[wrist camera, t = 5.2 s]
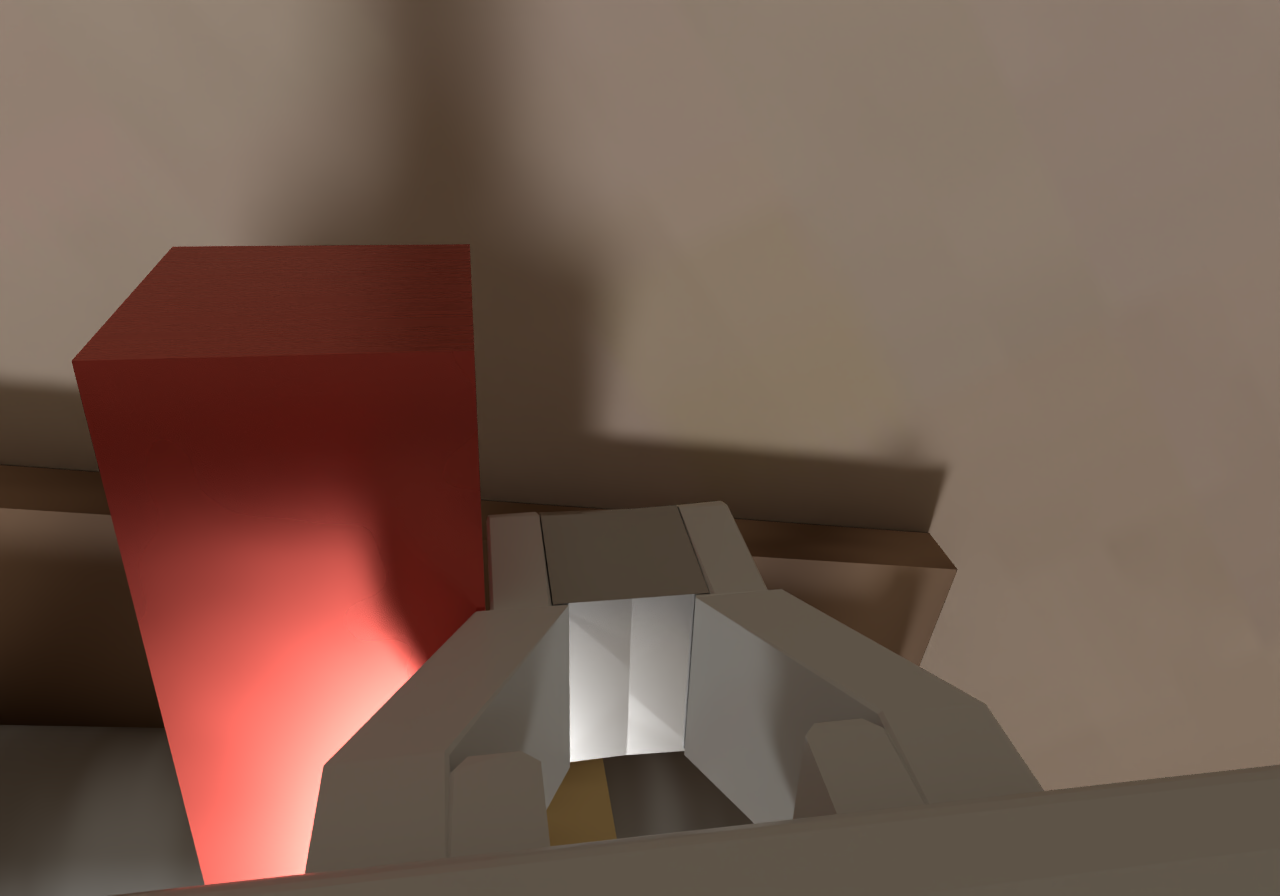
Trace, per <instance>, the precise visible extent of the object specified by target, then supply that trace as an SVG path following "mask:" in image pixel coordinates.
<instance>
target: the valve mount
mask: <svg viewBox="0 0 1280 896" xmlns="http://www.w3.org/2000/svg"><path fill="white" fill-rule="evenodd" d="M586 510H607V509H593V508H580V507H566V506H553V505H539V504H525V503H512V502H498V501H485V500H481V517H482V540H483V563H484V586H485V609H486V611H488V610H490V596H489V572H488V548H487V524H486V521H487V517H488V515H499V514H512V513H526V512H536V513H537V514H538V515H539V512H561V511H586ZM734 520H735V522H736V524H737V526H738V528H739V531H740V533H741V535H742V537H743V539H744V541H745V543H746V545H747V547H748V549H749V552H750V554H751V556H752V558H753V560H754V562H755V564H756V566H757V568H758V570H759V573H760V575H761V577H762V579H763V581H764V583H765V585H766V587H767V589H768V590H776V589H782V590H784V591H786V592H788V593H789V594H791V595H793V596H795V597H796V598H798V599H800V600H802V601H804V602H805V603H807V604H809V605H811V606H812V607H814V608H816V609H818V610H820V611H821V612H823V613H825V614H827V615H828V616H830V617H832V618H834V619H836V620H837V621H839V622H841V623H843V624H844V625H846V626H848V627H850V628H851V629H853V630H855V631H857V632H859V633H860V634H862V635H864V636H866V637H867V638H869V639H871V640H873V641H875V642H876V643H878V644H880V645H882V646H883V647H885V648H887V649H889V650H891V651H892V652H894V653H896V654H898V655H899V656H901V657H903V658H905V659H907V660H908V661H910V662H912V663H914V664H915V665H917V666H920V663H921V660H922V658H923V655H924V653H925V650H926V648H927V645H928V643H929V640H930V638H931V635H932V633H933V630H934V628H935V625H936V623H937V620H938V618H939V615H940V613H941V610H942V608H943V605H944V603H945V600H946V597H947V595H948V592H949V590H950V587H951V585H952V582H953V580H954V577H955V575H956V572H957V568H956V567H955V566H954V564H953V563H952V562H951V561H950V559H949V558H948V557H947V555H946V554H945V553H944V552H943V550H942V549H941V548H940V546H939V545H938V544H937V543H936V541H935V540H934V539H933V537H932V536H931V535H930V534H929V533H920V532H907V531H893V530H879V529H866V528H852V527H839V526H825V525H811V524H798V523H784V522H770V521H757V520H743V519H734ZM546 812H547V821H548V830H549V839H550V846H558V845H567V844H576V843H585V842H594V841H603V840H612V839H621V838H629V837H638V836H647V835H656V834H665V833H674V832H683V831H692V830H701V829H710V828H719V827H728V826H737V825H746V824H754V823H753V822H752V821H751V820H750V819H749V818H748V817H747V816H746V815H745V814H744V813H743V812H742V811H741V810H740V809H739V808H738V807H737V806H736V805H735V804H734V803H733V802H732V801H731V800H730V799H729V798H728V797H727V796H726V795H725V794H724V793H723V792H722V791H721V790H720V789H719V788H718V787H716V786H715V785H714V784H713V783H712V782H711V781H710V780H709V779H708V778H707V777H706V776H705V775H704V774H703V773H702V772H701V771H700V770H699V769H698V768H697V767H696V766H695V765H694V764H693V763H692V762H691V761H690V760H689V759H688V758H687V757H686V756H685V755H684V751H676V752H662V753H648V754H634V755H622V756H614V757H606V758H598V759H591V760H583V761H575V762H570V768H569V770H568V772H567V773H566V775H565V777H564V779H563V781H562V783H561V784H560V786H559V788H558V790H557V792H556V793H555V795H554V797H553V799H552V801H551V803H550V804H549V806H548V808H547V810H546ZM199 885H205V883H204V880H203V876H202V872H201V868H200V864H199V860H198V856H197V852H196V848H195V844H194V840H193V836H192V832H191V828H190V824H189V821H188V817H187V813H186V809H185V805H184V801H183V797H182V793H181V789H180V785H179V781H178V777H177V773H176V769H175V766H174V762H173V758H172V754H171V750H170V746H169V742H168V738H167V734H166V730H165V726H164V722H163V718H162V714H161V710H160V707H159V703H158V699H157V695H156V691H155V687H154V683H153V679H152V675H151V671H150V667H149V663H148V659H147V655H146V651H145V648H144V644H143V640H142V636H141V632H140V628H139V624H138V620H137V616H136V612H135V608H134V604H133V600H132V596H131V593H130V589H129V585H128V581H127V577H126V573H125V569H124V565H123V561H122V557H121V553H120V549H119V545H118V541H117V537H116V534H115V530H114V526H113V522H112V518H111V514H110V510H109V506H108V502H107V498H106V494H105V490H104V486H103V482H102V478H101V475H100V472H90V471H76V470H62V469H49V468H35V467H22V466H8V465H0V896H110V895H119V894H128V893H137V892H146V891H154V890H163V889H172V888H181V887H190V886H199Z"/></svg>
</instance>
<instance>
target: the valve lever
mask: <svg viewBox="0 0 1280 896" xmlns="http://www.w3.org/2000/svg"><path fill="white" fill-rule="evenodd" d="M72 364H73V368H74V372H75V376H76V380H77V384H78V388H79V392H80V396H81V400H82V404H83V408H84V412H85V416H86V420H87V423H88V427H89V431H90V435H91V439H92V443H93V447H94V451H95V455H96V459H97V463H98V467H99V471H100V475H101V478H102V482H103V486H104V490H105V494H106V498H107V502H108V506H109V510H110V514H111V518H112V522H113V526H114V530H115V534H116V537H117V541H118V545H119V549H120V553H121V557H122V561H123V565H124V569H125V573H126V577H127V581H128V585H129V589H130V593H131V596H132V600H133V604H134V608H135V612H136V616H137V620H138V624H139V628H140V632H141V636H142V640H143V644H144V648H145V651H146V655H147V659H148V663H149V667H150V671H151V675H152V679H153V683H154V687H155V691H156V695H157V699H158V703H159V707H160V710H161V714H162V718H163V722H164V726H165V730H166V734H167V738H168V742H169V746H170V750H171V754H172V758H173V762H174V766H175V769H176V773H177V777H178V781H179V785H180V789H181V793H182V797H183V801H184V805H185V809H186V813H187V817H188V821H189V824H190V828H191V832H192V836H193V840H194V844H195V848H196V852H197V856H198V860H199V864H200V868H201V872H202V876H203V880H204V883H205V885H208V884H217V883H226V882H235V881H244V880H253V879H262V878H271V877H280V876H289V875H298V874H305V868H306V862H307V857H308V851H309V845H310V839H311V834H312V828H313V822H314V816H315V811H316V805H317V799H318V793H319V788H320V782H321V776H322V770H323V766H324V764H325V763H326V762H327V761H328V760H329V759H330V758H331V757H332V756H333V755H334V754H335V753H336V752H337V751H338V750H339V749H340V748H341V747H342V746H343V745H344V744H345V743H346V742H347V741H348V740H349V739H350V738H351V737H352V736H353V735H354V734H355V733H356V732H357V731H358V730H359V729H360V728H361V727H362V726H363V725H364V724H365V723H366V722H367V721H368V720H369V719H370V718H371V717H372V716H373V715H374V714H375V713H376V712H377V711H378V710H379V709H380V708H381V707H382V706H383V705H384V704H385V703H386V702H387V701H388V700H389V699H390V698H391V697H392V696H393V695H394V694H395V693H396V692H397V691H398V690H399V689H400V688H401V687H402V685H403V684H404V683H405V682H406V681H407V680H408V679H409V678H410V677H411V676H412V675H413V674H414V673H415V672H416V671H417V670H418V669H419V668H420V667H421V666H422V665H423V664H424V663H425V662H426V661H427V660H428V659H429V658H430V657H431V656H432V655H433V654H434V653H435V652H436V651H437V650H438V649H439V648H440V647H441V646H442V645H443V644H444V643H445V642H446V641H447V640H448V639H449V638H450V637H451V636H452V635H453V634H454V633H455V632H456V631H457V630H458V629H459V628H460V627H461V626H462V625H463V624H464V623H465V622H466V621H467V620H468V619H469V618H470V617H471V616H472V615H473V614H474V613H475V612H477V611H486V609H485V586H484V563H483V540H482V517H481V494H480V471H479V448H478V425H477V402H476V379H475V356H474V333H473V310H472V287H471V264H470V244H456V245H330V246H204V247H172V248H171V249H170V250H169V251H168V253H167V254H166V255H165V256H164V257H163V258H162V259H161V260H160V262H159V263H158V264H157V265H156V266H155V267H154V268H153V270H152V271H151V272H150V273H149V274H148V275H147V276H146V277H145V279H144V280H143V281H142V282H141V283H140V284H139V285H138V286H137V288H136V289H135V290H134V291H133V292H132V293H131V294H130V296H129V297H128V298H127V299H126V300H125V301H124V302H123V303H122V305H121V306H120V307H119V308H118V309H117V310H116V311H115V312H114V314H113V315H112V316H111V317H110V318H109V319H108V320H107V322H106V323H105V324H104V325H103V326H102V327H101V328H100V329H99V331H98V332H97V333H96V334H95V335H94V336H93V337H92V338H91V340H90V341H89V342H88V343H87V344H86V345H85V346H84V347H83V349H82V350H81V351H80V352H79V353H78V354H77V355H76V357H75V358H74V359H73V360H72Z"/></svg>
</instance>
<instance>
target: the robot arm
mask: <svg viewBox="0 0 1280 896" xmlns="http://www.w3.org/2000/svg"><path fill="white" fill-rule="evenodd" d="M486 524H487V548H488V572H489V596H490V610H488V611H477V612H475V613H474V614H473V615H472V616H471V617H470V618H469V619H468V620H467V621H466V622H465V623H464V624H463V625H462V626H461V627H460V628H459V629H458V630H457V631H456V632H455V633H454V634H453V635H452V636H451V637H450V638H449V639H448V640H447V641H446V642H445V643H444V644H443V645H442V646H441V647H440V648H439V649H438V650H437V651H436V652H435V653H434V654H433V655H432V656H431V657H430V658H429V659H428V660H427V661H426V662H425V663H424V664H423V665H422V666H421V667H420V668H419V669H418V670H417V671H416V672H415V673H414V674H413V675H412V676H411V677H410V678H409V679H408V680H407V681H406V682H405V683H404V684H403V685H402V687H401V688H400V689H399V690H398V691H397V692H396V693H395V694H394V695H393V696H392V697H391V698H390V699H389V700H388V701H387V702H386V703H385V704H384V705H383V706H382V707H381V708H380V709H379V710H378V711H377V712H376V713H375V714H374V715H373V716H372V717H371V718H370V719H369V720H368V721H367V722H366V723H365V724H364V725H363V726H362V727H361V728H360V729H359V730H358V731H357V732H356V733H355V734H354V735H353V736H352V737H351V738H350V739H349V740H348V741H347V742H346V743H345V744H344V745H343V746H342V747H341V748H340V749H339V750H338V751H337V752H336V753H335V754H334V755H333V756H332V757H331V758H330V759H329V760H328V761H327V762H326V763H325V764H324V766H323V770H322V776H321V782H320V788H319V793H318V799H317V805H316V811H315V816H314V822H313V828H312V834H311V839H310V845H309V851H308V857H307V862H306V868H305V874H298V875H289V876H280V877H271V878H262V879H253V880H244V881H235V882H226V883H217V884H208V885H199V886H190V887H181V888H172V889H163V890H154V891H146V892H137V893H128V894H119V895H110V896H1280V765H1272V766H1264V767H1255V768H1246V769H1237V770H1228V771H1219V772H1210V773H1201V774H1192V775H1183V776H1174V777H1165V778H1156V779H1147V780H1138V781H1129V782H1120V783H1111V784H1102V785H1093V786H1084V787H1075V788H1067V789H1058V790H1049V791H1044V790H1043V788H1042V787H1041V785H1040V784H1039V782H1038V781H1037V779H1036V778H1035V776H1034V775H1033V773H1032V772H1031V771H1030V769H1029V768H1028V766H1027V765H1026V763H1025V762H1024V760H1023V759H1022V757H1021V756H1020V754H1019V753H1018V751H1017V750H1016V748H1015V747H1014V745H1013V744H1012V742H1011V741H1010V739H1009V738H1008V737H1007V735H1006V734H1005V732H1004V731H1003V729H1002V728H1001V726H1000V725H999V723H998V722H997V720H996V719H995V717H994V716H993V714H992V713H991V711H990V710H989V708H988V707H987V705H986V704H985V703H983V702H981V701H979V700H978V699H976V698H974V697H972V696H970V695H969V694H967V693H965V692H963V691H962V690H960V689H958V688H956V687H954V686H953V685H951V684H949V683H947V682H946V681H944V680H942V679H940V678H938V677H937V676H935V675H933V674H931V673H930V672H928V671H926V670H924V669H922V668H921V667H919V666H917V665H915V664H914V663H912V662H910V661H908V660H907V659H905V658H903V657H901V656H899V655H898V654H896V653H894V652H892V651H891V650H889V649H887V648H885V647H883V646H882V645H880V644H878V643H876V642H875V641H873V640H871V639H869V638H867V637H866V636H864V635H862V634H860V633H859V632H857V631H855V630H853V629H851V628H850V627H848V626H846V625H844V624H843V623H841V622H839V621H837V620H836V619H834V618H832V617H830V616H828V615H827V614H825V613H823V612H821V611H820V610H818V609H816V608H814V607H812V606H811V605H809V604H807V603H805V602H804V601H802V600H800V599H798V598H796V597H795V596H793V595H791V594H789V593H788V592H786V591H784V590H782V589H776V590H768V589H767V587H766V585H765V583H764V581H763V579H762V577H761V575H760V573H759V570H758V568H757V566H756V564H755V562H754V560H753V558H752V556H751V554H750V552H749V549H748V547H747V545H746V543H745V541H744V539H743V537H742V535H741V533H740V531H739V528H738V526H737V524H736V522H735V520H734V518H733V516H732V514H731V512H730V509H729V507H728V505H727V504H725V503H724V502H722V501H713V502H703V503H692V504H682V505H671V506H659V507H647V508H635V509H612V510H586V511H561V512H539V515H538V514H537V513H536V512H526V513H512V514H499V515H488V517H487V521H486ZM676 751H684V755H685V756H686V757H687V758H688V759H689V760H690V761H691V762H692V763H693V764H694V765H695V766H696V767H697V768H698V769H699V770H700V771H701V772H702V773H703V774H704V775H705V776H706V777H707V778H708V779H709V780H710V781H711V782H712V783H713V784H714V785H715V786H716V787H718V788H719V789H720V790H721V791H722V792H723V793H724V794H725V795H726V796H727V797H728V798H729V799H730V800H731V801H732V802H733V803H734V804H735V805H736V806H737V807H738V808H739V809H740V810H741V811H742V812H743V813H744V814H745V815H746V816H747V817H748V818H749V819H750V820H751V821H752V822H753V823H754V824H746V825H737V826H728V827H719V828H710V829H701V830H692V831H683V832H674V833H665V834H656V835H647V836H638V837H629V838H621V839H612V840H603V841H594V842H585V843H576V844H567V845H558V846H550V839H549V830H548V821H547V812H546V810H547V808H548V806H549V804H550V803H551V801H552V799H553V797H554V795H555V793H556V792H557V790H558V788H559V786H560V784H561V783H562V781H563V779H564V777H565V775H566V773H567V772H568V770H569V768H570V762H575V761H583V760H591V759H598V758H606V757H614V756H622V755H634V754H648V753H662V752H676Z"/></svg>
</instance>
